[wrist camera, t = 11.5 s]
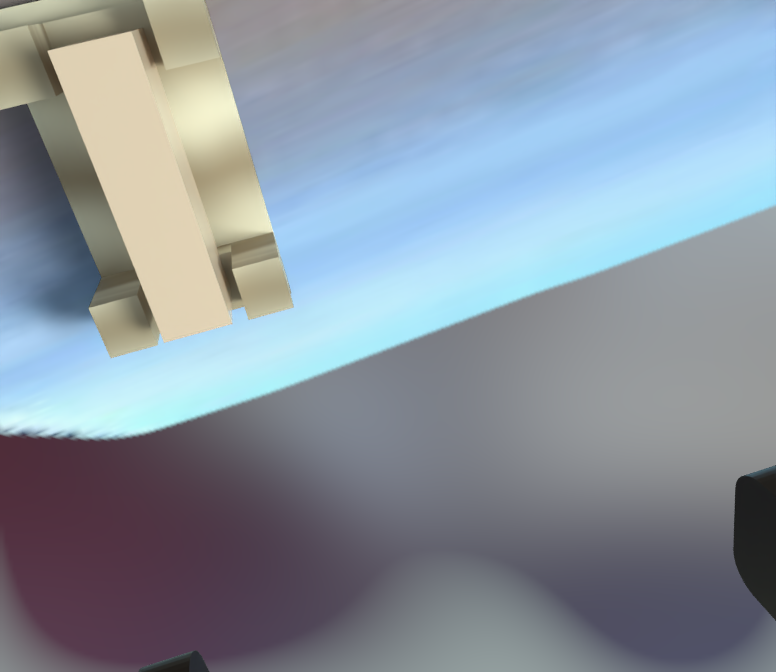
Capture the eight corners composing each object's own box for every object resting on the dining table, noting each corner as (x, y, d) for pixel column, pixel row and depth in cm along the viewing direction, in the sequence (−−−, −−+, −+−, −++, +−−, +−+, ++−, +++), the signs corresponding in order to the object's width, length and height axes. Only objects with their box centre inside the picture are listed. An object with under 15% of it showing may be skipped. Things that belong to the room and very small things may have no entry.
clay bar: (70, 44, 34) (47, 50, 29) (143, 27, 34) (131, 31, 30) (170, 304, 40) (164, 342, 36) (230, 288, 40) (232, 323, 36)
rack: (-7, 11, 35) (-44, 13, 30) (195, -34, 35) (191, -40, 31) (129, 331, 43) (117, 374, 38) (289, 287, 44) (298, 323, 39)
